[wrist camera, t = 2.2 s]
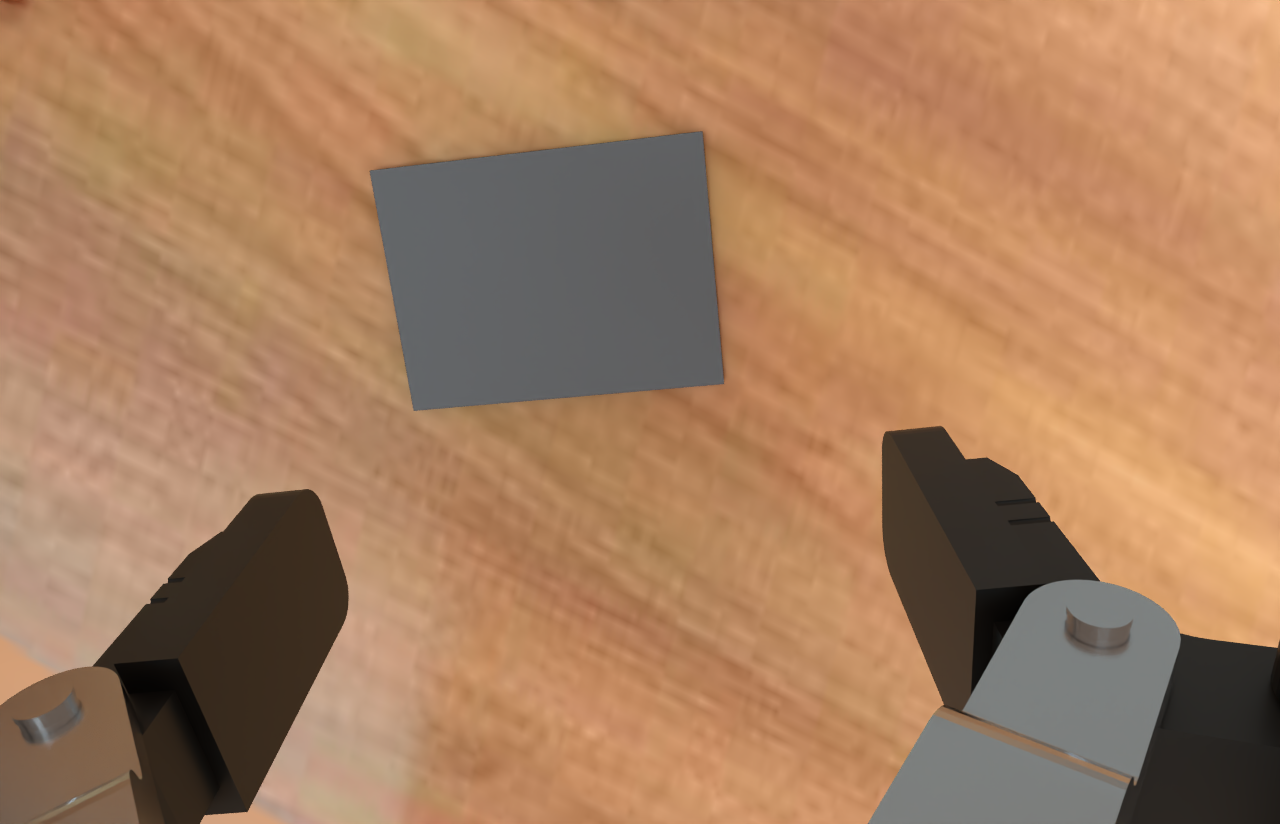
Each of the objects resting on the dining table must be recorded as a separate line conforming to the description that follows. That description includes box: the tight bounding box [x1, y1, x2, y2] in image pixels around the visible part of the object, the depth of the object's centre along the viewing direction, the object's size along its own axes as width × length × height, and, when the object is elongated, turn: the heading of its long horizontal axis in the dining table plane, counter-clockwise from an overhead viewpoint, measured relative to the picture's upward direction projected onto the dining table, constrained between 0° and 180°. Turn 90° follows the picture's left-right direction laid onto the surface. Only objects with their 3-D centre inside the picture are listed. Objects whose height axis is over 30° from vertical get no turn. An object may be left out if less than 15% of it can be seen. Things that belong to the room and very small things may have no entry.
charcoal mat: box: [370, 131, 724, 411], centre depth 32 cm, size 12×9×1 cm
